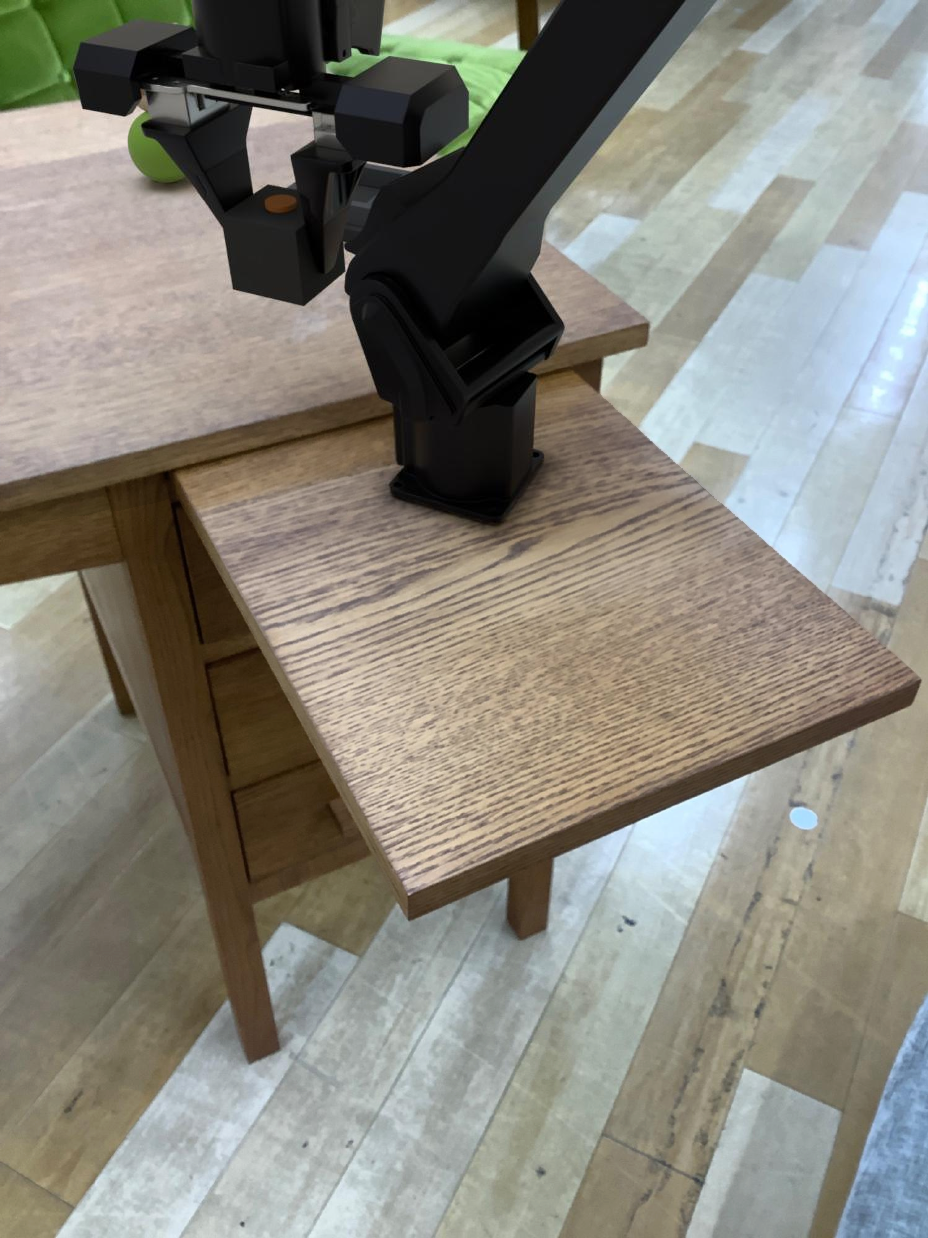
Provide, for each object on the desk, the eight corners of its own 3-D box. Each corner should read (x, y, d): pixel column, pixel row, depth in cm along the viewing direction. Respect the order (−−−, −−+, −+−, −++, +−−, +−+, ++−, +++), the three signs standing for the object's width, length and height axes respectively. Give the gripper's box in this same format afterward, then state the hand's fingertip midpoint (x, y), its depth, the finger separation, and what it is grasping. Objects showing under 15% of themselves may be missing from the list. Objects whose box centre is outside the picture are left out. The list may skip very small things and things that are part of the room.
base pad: (430, 202, 82) (429, 169, 80) (376, 247, 76) (373, 213, 75) (331, 183, 85) (328, 151, 83) (272, 225, 79) (267, 192, 77)
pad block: (346, 271, 56) (339, 192, 53) (304, 306, 54) (294, 225, 51) (277, 255, 58) (266, 177, 55) (232, 289, 55) (219, 209, 52)
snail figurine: (180, 200, 82) (148, 32, 74) (121, 184, 85) (84, 19, 76) (225, 178, 86) (199, 15, 77) (168, 162, 88) (136, 3, 80)
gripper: (521, -105, 46) (509, 234, 57) (177, -137, 52) (226, 178, 63) (408, -53, 39) (419, 324, 50) (23, -96, 45) (109, 252, 56)
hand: (288, 261), depth 55 cm, fingers closed on pad block, 4 cm apart
